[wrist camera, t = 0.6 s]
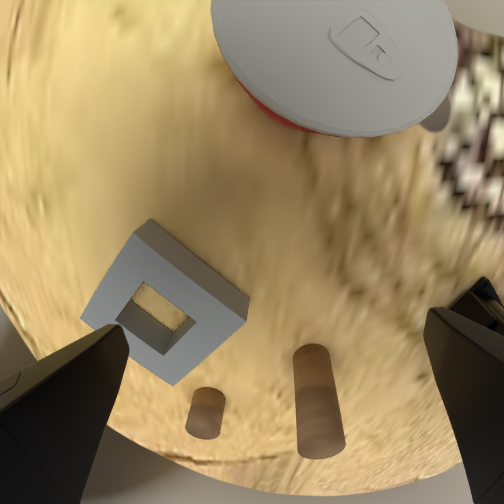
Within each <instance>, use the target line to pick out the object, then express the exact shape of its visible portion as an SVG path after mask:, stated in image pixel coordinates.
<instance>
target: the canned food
mask: <svg viewBox="0 0 504 504" xmlns="http://www.w3.org/2000/svg"><path fill="white" fill-rule="evenodd" d="M211 16H212V23H213V30H214V34H215V38H216V41H217V43H218V46H219V48H220V51H221V54H222V56H223V58H224V60H225V61H226V63H227V65H228V66H229V68H230V69H231V71H232V72H233V74H234V76H235V77H236V79H237V80H238V82H239V83H240V85H241V86H242V87H243V88H244V90H245V91H246V92H247V93H248V95H249V96H250V97H251V98H252V100H253V101H254V102H255V103H256V104H257V105H258V106H259V108H260V109H261V110H262V111H263V112H264V113H266V114H267V115H268V116H270V117H271V118H272V119H274V120H275V121H277V122H279V123H281V124H283V125H285V126H288V127H291V128H294V129H297V130H302V131H307V132H313V133H318V134H324V135H330V136H336V137H345V138H372V137H377V136H382V135H387V134H392V133H397V132H400V131H402V130H404V129H407V128H409V127H411V126H414V125H416V124H418V123H419V122H421V121H422V120H423V119H424V118H426V117H427V116H429V115H430V114H431V113H433V112H434V111H435V109H436V108H437V107H438V106H439V104H440V103H441V102H442V101H443V100H444V98H445V97H446V95H447V93H448V91H449V89H450V87H451V84H452V82H453V80H454V76H455V71H456V66H457V61H458V55H457V37H456V33H455V28H454V24H453V20H452V18H451V15H450V13H449V11H448V9H447V6H446V4H445V2H444V0H211Z"/></svg>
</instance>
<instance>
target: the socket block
mask: <svg viewBox="0 0 504 504" xmlns="http://www.w3.org/2000/svg"><path fill="white" fill-rule="evenodd" d="M143 281H144V282H145V283H147V284H148V285H149V286H150V287H152V288H153V289H154V290H155V291H157V292H158V293H159V294H161V295H162V296H163V297H164V298H166V299H167V300H168V301H170V302H171V303H172V304H174V305H175V306H176V307H178V308H179V309H180V310H182V311H183V312H184V313H186V314H187V315H188V316H189V317H188V318H187V319H186V320H185V321H184V322H183V323H182V324H181V325H180V326H179V327H178V328H177V329H176V331H175V332H173V331H171V330H170V329H168V328H167V327H166V326H164V325H163V324H162V323H160V322H159V321H158V320H156V319H155V318H154V317H152V316H151V315H150V314H148V313H147V312H146V311H144V310H143V309H142V308H141V307H139V306H138V305H137V304H135V303H134V302H133V301H132V300H130V299H131V297H132V296H133V294H134V293H135V292H136V290H137V289H138V288H139V286H140V285H141V284H142V282H143ZM248 306H249V297H248V296H246V295H245V294H244V293H243V292H241V291H240V290H239V289H237V288H236V287H235V286H234V285H232V284H231V283H230V282H228V281H227V280H226V279H225V278H223V277H222V276H221V275H220V274H218V273H217V272H216V271H214V270H213V269H212V268H211V267H209V266H208V265H207V264H206V263H204V262H203V261H202V260H201V259H199V258H198V257H197V256H196V255H194V254H193V253H192V252H191V251H189V250H188V249H187V248H186V247H184V246H183V245H182V244H181V243H180V242H178V241H177V240H176V239H175V238H173V237H172V236H171V235H170V234H168V233H167V232H166V231H165V230H164V229H162V228H161V227H160V226H159V225H158V224H156V223H155V222H154V221H153V220H151V219H149V220H148V221H146V222H145V223H144V224H143V225H142V226H141V227H139V228H138V229H137V230H136V231H135V232H133V234H132V235H131V237H130V238H129V240H128V241H127V243H126V244H125V246H124V247H123V249H122V250H121V252H120V253H119V255H118V256H117V258H116V259H115V261H114V262H113V264H112V266H111V267H110V269H109V270H108V272H107V273H106V275H105V277H104V278H103V280H102V282H101V283H100V285H99V286H98V288H97V290H96V291H95V293H94V295H93V296H92V298H91V300H90V301H89V303H88V305H87V307H86V308H85V310H84V312H83V313H82V315H81V317H80V319H82V320H83V321H84V322H85V323H86V324H88V325H89V326H90V327H91V328H93V329H94V330H95V331H96V330H98V329H99V328H101V327H103V326H105V325H107V324H119V325H121V326H122V328H123V330H124V333H125V336H126V339H127V341H128V344H129V348H130V352H129V357H131V358H132V359H133V360H135V361H136V362H138V363H139V364H140V365H142V366H143V367H145V368H146V369H148V370H149V371H151V372H152V373H154V374H155V375H156V376H158V377H159V378H161V379H163V380H164V381H166V382H167V383H169V384H170V385H172V386H174V385H175V384H176V383H177V382H179V381H180V380H181V379H182V378H183V377H184V376H186V375H187V374H188V373H189V372H190V371H191V370H193V369H194V368H195V367H196V366H197V365H198V364H199V363H201V362H202V361H203V360H204V359H205V358H206V357H207V356H209V355H210V354H211V353H212V352H213V351H214V350H215V349H217V348H218V347H219V346H220V345H221V344H222V343H223V342H224V341H225V340H227V339H228V338H229V337H230V336H231V335H232V334H233V333H234V332H235V331H237V330H238V329H239V328H240V327H241V326H242V325H243V324H244V323H245V322H246V321H247V313H248Z"/></svg>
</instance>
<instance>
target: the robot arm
mask: <svg viewBox="0 0 504 504" xmlns="http://www.w3.org/2000/svg"><path fill="white" fill-rule="evenodd" d="M483 284H484V285H483ZM423 336H424V342H425V345H426V348H427V352H428V355H429V359H430V362H431V366H432V370H433V374H434V377H435V381H436V384H437V386H438V389H439V392H440V394H441V397H442V400H443V403H444V405H445V408H446V411H447V414H448V417H449V420H450V422H451V425H452V428H453V431H454V434H455V438H456V441H457V444H458V447H459V450H460V454H461V457H462V461H463V464H464V467H465V471H466V475H467V479H468V482H469V486H470V490H471V494H472V499H473V503H474V504H504V307H503V305H502V303H501V301H500V299H499V297H498V295H497V294H496V292H495V290H494V288H493V286H492V285H491V283H490V281H489V280H488V279H487V278H486V277H483V278H482V279H480V280H479V282H478V283H477V284H476V285H475V286H474V287H473V288H472V289H471V290H470V291H469V292H468V293H467V294H466V295H465V296H464V297H463V298H462V299H461V300H460V301H459V302H458V303H457V304H456V305H455V306H454V307H453V308H452V309H451V310H449V309H446V308H444V307H441V306H440V307H433V308H430V309H429V310H428V313H427V318H426V323H425V328H424V334H423ZM129 352H130V348H129V344H128V341H127V339H126V336H125V333H124V330H123V328H122V326H121V325H119V324H107V325H105V326H103V327H101V328H99V329H98V330H96V331H94V332H92V333H90V334H88V335H86V336H84V337H82V338H80V339H79V340H77V341H75V342H73V343H71V344H69V345H67V346H65V347H63V348H62V349H60V350H58V351H56V352H54V353H52V354H50V355H48V356H46V357H45V358H43V359H41V360H39V361H37V362H35V363H33V364H31V365H30V366H28V367H26V368H24V369H22V371H21V370H20V371H18V372H16V373H15V374H13V375H11V376H9V377H7V378H5V379H3V380H1V381H0V504H80V502H81V498H82V495H83V492H84V489H85V486H86V483H87V480H88V476H89V473H90V470H91V467H92V464H93V461H94V458H95V456H96V453H97V450H98V447H99V444H100V441H101V438H102V436H103V433H104V430H105V427H106V425H107V422H108V419H109V416H110V414H111V411H112V408H113V406H114V403H115V401H116V398H117V395H118V392H119V389H120V385H121V382H122V378H123V374H124V371H125V367H126V363H127V360H128V356H129Z"/></svg>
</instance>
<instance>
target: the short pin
mask: <svg viewBox="0 0 504 504" xmlns="http://www.w3.org/2000/svg"><path fill="white" fill-rule="evenodd" d="M224 406H225V396H224V394H223V393H222V392H220V391H219V390H217V389H214V388H210V387H202V388H199V389H197V390H196V391H195V393H194V396H193V399H192V403H191V407H190V411H189V414H188V418H187V422H186V425H185V428H186V430H187V432H188V433H189V434H191V435H192V436H194V437H196V438H200V439H206V440H209V439H214V438H217V437H218V436H219V435H220V430H221V424H222V418H223V412H224Z"/></svg>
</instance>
